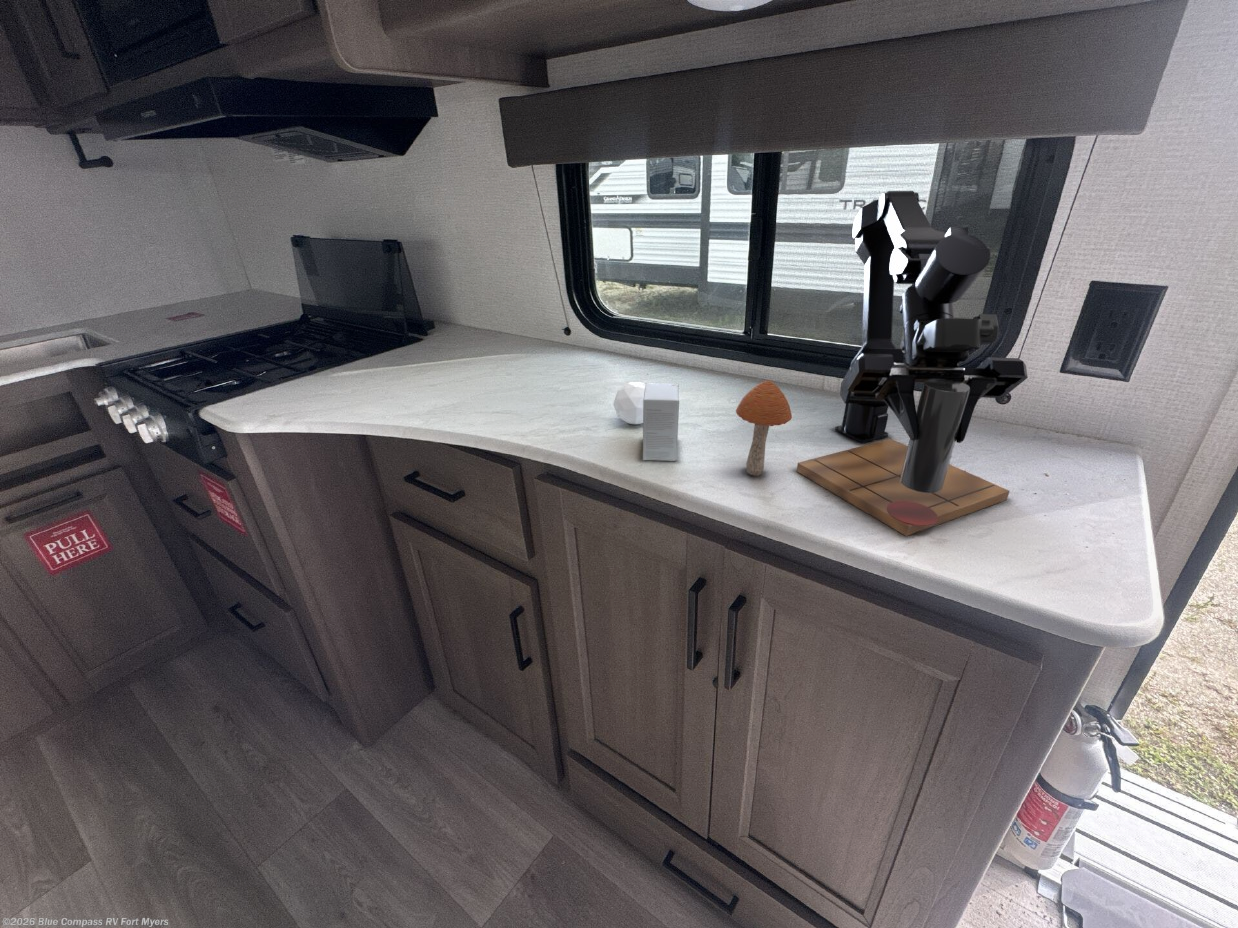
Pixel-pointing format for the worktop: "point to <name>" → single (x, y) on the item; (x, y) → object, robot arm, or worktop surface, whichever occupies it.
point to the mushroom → (762, 419)
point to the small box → (660, 421)
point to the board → (898, 487)
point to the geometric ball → (630, 403)
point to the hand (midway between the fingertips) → (937, 440)
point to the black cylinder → (934, 434)
